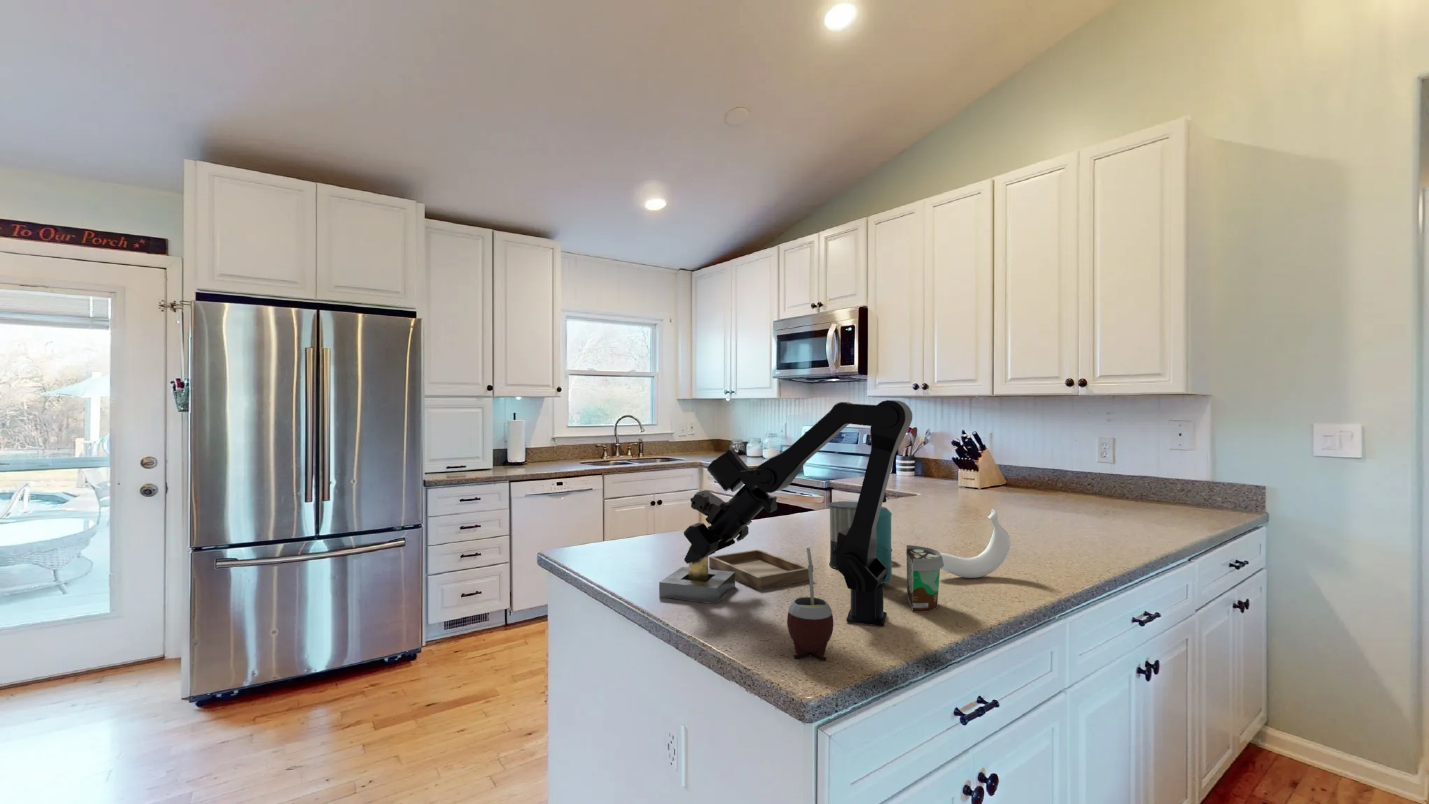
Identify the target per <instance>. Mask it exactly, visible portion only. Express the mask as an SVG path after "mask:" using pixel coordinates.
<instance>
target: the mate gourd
mask: <svg viewBox="0 0 1429 804" xmlns="http://www.w3.org/2000/svg"><path fill="white" fill-rule="evenodd" d="M811 553H812V552H811V548H810V547H806V554H807V561H808V562H807V563H808V565H807V567H808V571H809V580H808V581H809V596H804V597H802V596H801V597H798V598H795V599H794V600H793V601H792V602H791V603H790V605H789V607H788V611H787V612H788V613H787V616H786V617H787V619H786V627H787V630H788V631H787V632H788V634H789V637H790V639H791V640H792V642H793V646H794V651H795V654H794V655H793V658H794V660H796V661H799V660H802V659H805V658H808V657H811V658H814V659H816V660H818V661H820V662H822V663H824V662H826V661H827V656H825V654H826V650H827V646H828V643H829V641H830V640H831V637H832V634H833V631H834V616H833V610H832V608H831V607H830V604H828V602H827V600H826V601H825V600H824V599H822V598H819V597H815V591H814V576H813V575H814V574H813V572H814V565H813V561H812V559H813V558H812V554H811Z"/></svg>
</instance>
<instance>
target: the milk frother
mask: <svg viewBox="0 0 1429 804" xmlns="http://www.w3.org/2000/svg"><path fill="white" fill-rule="evenodd" d="M857 503H858V501H853V500H852V501H846V500H845V501H843V500H841V501H840V500H839V501H833V502H829V503H828V506H829V538H830V539H829V540H830V541H829V543H830V546H829V547H830V548H829V550H830V551H829V552H830V553H829V556H830V557H829V562H828V565H829V566H830V567H831V568H832V569H836V570H838V568H837V567H836V565H835V557H836V554H835V555H833V554H832V553H833V552H834V550H835V549H836V546H837V537H838V533H839V532H840V531H842V530H844V529H845V528H847V527H849V528H850V527H851V525H852V523H853V519H854V515H855V511H856V507H857ZM891 553H893V549H892V547H891Z"/></svg>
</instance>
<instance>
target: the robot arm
mask: <svg viewBox="0 0 1429 804" xmlns="http://www.w3.org/2000/svg"><path fill="white" fill-rule="evenodd" d="M912 421H913V411H912V410H911V408H910V406H909V405H908V404H906V403H905V402H903V401H901V400H893V399H892V400H890V399H889V400H888V399H887V400H883V401H881V402H879V403H877V404H863V403H862V404H861V403H852V402H848V401H841V402H836V403H835V404H834V405H833V407H832V408H831V409H830V410H829V411H828V412H827V413H826V414H825V415H824V416H822V417H821V418H820V419H819V420H818V421H817V422H816V423H815V424H814V425H812V427H810V428H809V429H808V430H807V431H806V432H805V433H804V434H802V436H800V437H799V438H798V439H797V440H796V441H795V442H794V443H792V445H791V446H790V447H788V448H787V449H785V450H783V451H781V452H779V453H778V454H776V455H774V456H772V457H770V458H769V459H767V460H765V461H763V462H762V463H761V464H759V465H758V466H753V467H748V465H747V464H746V463H745V461H744V460H743V459H742V458H741V457H740V456H739V454H738V452H737V451H736V450H735V449H734V448H731V449H727V451H726V452H724V453H723V454H721V455H720V456H718V457H717V458H716V459H713V460H712V461H711V463H710V464H709V465H708V466H707V469H706V470H707V472H708V473H709V474H710V475H711V477H712V478H713V479H714V480H715V481H716V483H718V485H719V486H720V487H721V489H722V490H723V491H724V492H728V491H731V492H732V493H734V492H736V493H735V494H734V495H733V496H732V497H731V498H730V499H729V500H728V501H724V500H723V499H722V498H720V497H718V496H717V495H715V494H714V493H712V492H711V491H708V490H701V491H697V492H695V494H694V495H693V497H691V498H690V502H691V503H690V507H691V509H692V510H696V511H698V512H699V513H701V514H702V515H704V516H707V517H706V518H705V521H706V522H707V524H709V526H706V524H705V523H704V522H697V523H694V524H692V525H689V526H688V527H687V528H686V529H685V530H684V531H683V535H684V537H685V539H687V540H688V542H689V543H690V546H689V547H690V549H689V548H688V550H687V553H686V555H685V557H684V559H683V560H684V562H685V564H688V565H689V563H691V562H693V561H696V560H698V559H701V558H704V557H706V556H708V557H710V556H711V555H713V554H716V553H717V552H718V551H721V550H723V549H725V548H728V547H731V546H732V545H735V544H736V541H737V542H740V541H741V540H744V538H745V537H747V536H748V535H749V527H748V526H749V525H750V524H752V522H753V519H754V518H755V517H756V516H757V515H758V514H759V513H760V512H761V511H762V510H763V509H765V511H767V513H772V512H774V511H776V510H778V505H777V503H778V502H777V499H778V497H777V496H772V495H770V494H771V493H775V492H778V491H781V490H784V489H787V488H788V487H789V486H790V485H791V484H792V482H793V481H794V480H795V479H796V477H797V476H798V475H799V473H800V471H802V468H803V467H804V466H805V464H806V463H807V461H809V460H810V459H812V457H813V456H815V454H816V453H818V452H819V451H820V450H821V449H822V448H824V447H825V446H826V445H827V444H828V443H829V442H831V441H832V440H833V439H834V438H835V437H837V435H838V434H840V432H842V431H843V430H845V428H846V427H848V426H849V425H855V426H865V427H870V429H869V430H870V431H869V433H870V445H871V448H870V453H869V457H868V461H867V464H866V469H865V472H864V476H863V477H864V478H863V481H862V484H861V488H860V492H859V495H858V501H857V502H858V503H857V507H856V511H855V515H854V519H853V523H852V525H851V527H850V528H849V527H847V528H845V529H844V530H842V531H840V532H839V533H838V537H837V546H836V549H835V550H834V552H833V553H832V554H833V555H835V554H836V557H835V565H836V567H837V568H838V569H837V570H838V571H839V573H840V574H841V575H842V576H843V578H844V581H845V585H846V587H847V589H849V590H850V609H849V612H848V614H847V615H846V616H847V617H846V623H850V624H851V623H852V624H859V625H867V626H875V627H885V626H886V622H887V621H886V620H887V616H888V615H887V614H888V613H887V612H886V611H884V583H882V582H883V581H884V580H885V579H886V576H887V573H888V569H887V568H886V566H885V565H884V564H883V563H882V562H881V561H880V560H879V559H878V558H877V557H876V549H877V535H876V526H877V522H878V518H879V514H880V510H881V507H883V503H882V502H883V499H884V495H885V493H886V491H887V487H888V482H889V479H890V475H891V472H892V467H893V463H894V459H895V457H896V453H897V451H898V449H899V447H900V445H901V444H902V442H903V441H904V439H905V437H906V434H907V433H908V431H909V428H910V427H911V424H912ZM735 540H736V541H735Z"/></svg>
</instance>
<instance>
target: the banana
mask: <svg viewBox="0 0 1429 804" xmlns="http://www.w3.org/2000/svg"><path fill="white" fill-rule="evenodd" d="M987 518H988V519H989V520H990V521H991V523H992V524H993V525H992V526H993V532H992V535H991V536H990V537H991V538H990V540H989V543H988V545H987V546H986V548H985V549H984V550H983V551H982V552H981V553H980V554H978V555H976V556H973V557H959V556H956V555H952V554H949V553H944V552H940V554H941V556H942V559H943V563H944V566H943V567H942V568H940V570H941V571H944V572H947V573H948V574H951V575H954V576H957V577H960V578H961V577H962V578H966V579H975V578H976V579H977V578H983V577H985V576H987V575H990V574H992V573H993V572H995V571H996V570H998V568H999V567H1000V566H1001V565H1002V564H1003V563H1004V562H1005V560H1006V558H1007V556H1008V553H1010V552H1009V551H1010V549H1011V537H1010V534H1009V532H1008V531H1007V530H1006V529H1005V528H1004V527H1003V526H1002V524H1001V523H1000V521H999V519H998V513H997V511H996V510H995V509H994V508H991V512H990V514H989V515H988V516H987Z"/></svg>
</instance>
